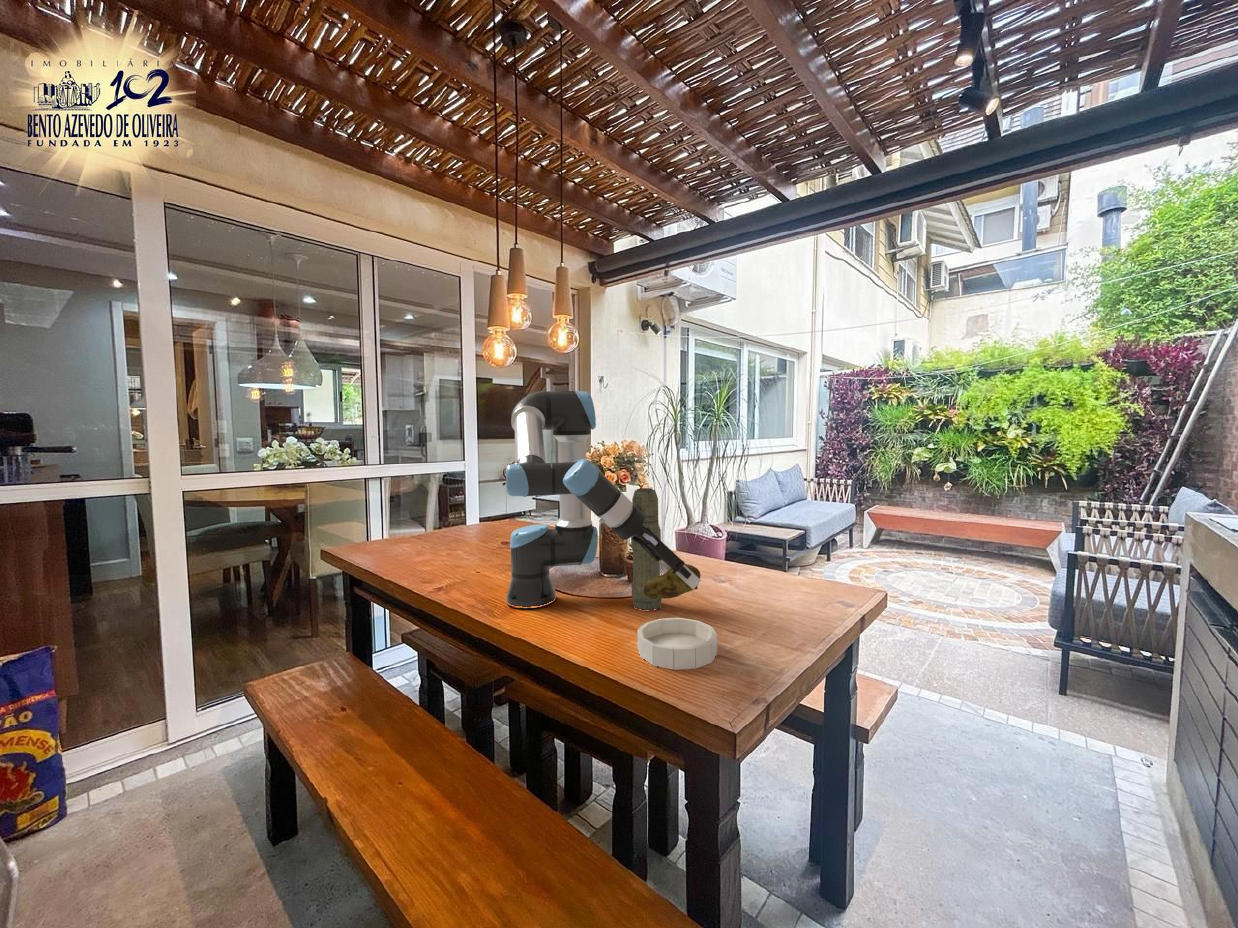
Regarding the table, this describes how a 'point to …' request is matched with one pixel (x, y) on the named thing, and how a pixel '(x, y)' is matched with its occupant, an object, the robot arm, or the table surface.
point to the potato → (668, 585)
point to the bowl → (677, 643)
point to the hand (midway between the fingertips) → (688, 579)
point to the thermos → (642, 561)
